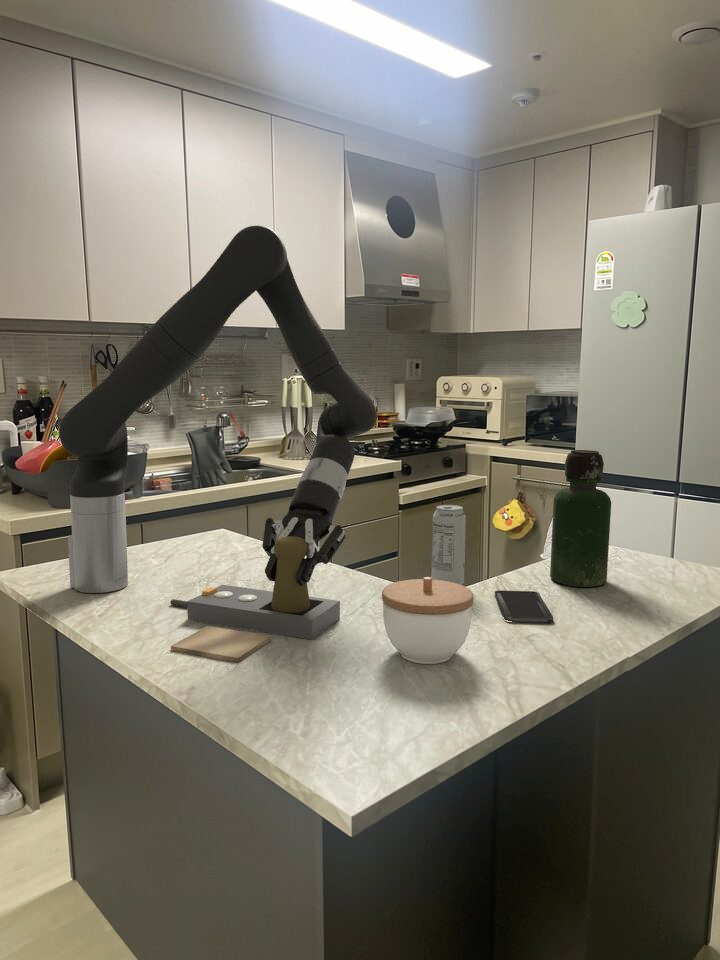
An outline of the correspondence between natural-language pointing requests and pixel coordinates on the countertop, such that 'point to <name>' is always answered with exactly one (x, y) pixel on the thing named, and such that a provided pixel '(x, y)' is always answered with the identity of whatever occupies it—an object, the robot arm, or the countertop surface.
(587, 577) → the green bottle
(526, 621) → the phone
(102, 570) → the robot arm
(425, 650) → the lidded bowl
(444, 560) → the energy drink can
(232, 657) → the cork pad
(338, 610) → the charging strip
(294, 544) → the pepper shaker
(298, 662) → the countertop surface
